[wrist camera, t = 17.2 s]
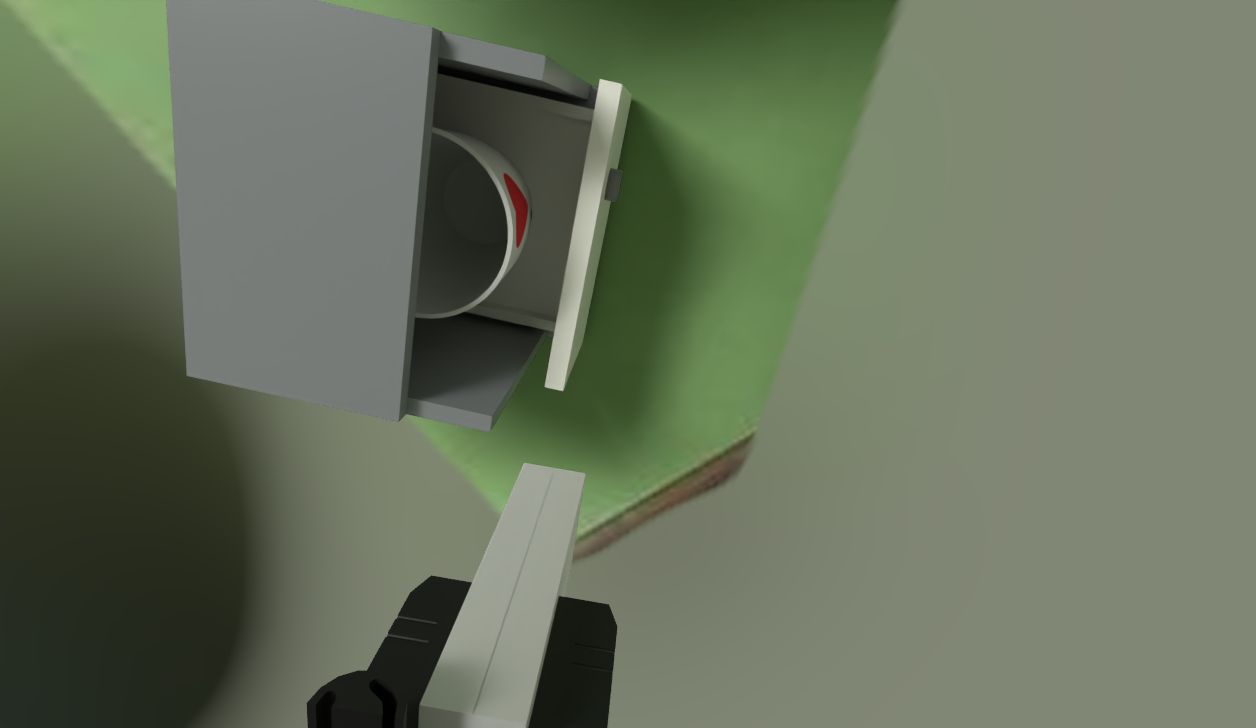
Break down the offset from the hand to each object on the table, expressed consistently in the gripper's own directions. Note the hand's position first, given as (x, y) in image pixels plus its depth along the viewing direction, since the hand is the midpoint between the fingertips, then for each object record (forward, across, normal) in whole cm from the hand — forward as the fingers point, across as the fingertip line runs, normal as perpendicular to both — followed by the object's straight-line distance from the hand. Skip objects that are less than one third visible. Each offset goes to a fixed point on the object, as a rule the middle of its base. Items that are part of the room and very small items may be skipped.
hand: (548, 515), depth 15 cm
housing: (+25, -9, +4) cm, 27 cm away
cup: (+23, -8, +4) cm, 25 cm away
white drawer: (+25, -9, +4) cm, 27 cm away
